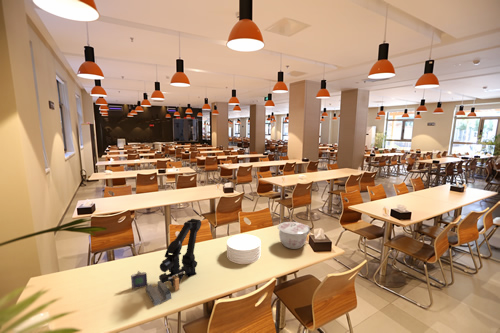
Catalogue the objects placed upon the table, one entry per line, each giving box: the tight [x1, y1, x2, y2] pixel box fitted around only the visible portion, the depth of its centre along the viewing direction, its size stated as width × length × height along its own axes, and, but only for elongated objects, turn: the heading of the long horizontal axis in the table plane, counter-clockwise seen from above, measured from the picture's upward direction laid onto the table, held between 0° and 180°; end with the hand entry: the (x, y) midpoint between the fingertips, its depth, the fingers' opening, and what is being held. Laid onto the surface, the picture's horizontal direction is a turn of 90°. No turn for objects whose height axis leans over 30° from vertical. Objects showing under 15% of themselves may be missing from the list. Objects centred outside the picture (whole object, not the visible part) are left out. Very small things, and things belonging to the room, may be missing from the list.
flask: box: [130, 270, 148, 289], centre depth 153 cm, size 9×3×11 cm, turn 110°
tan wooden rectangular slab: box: [172, 275, 180, 291], centre depth 152 cm, size 2×6×8 cm, turn 39°
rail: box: [145, 280, 172, 307], centre depth 146 cm, size 10×16×4 cm, turn 39°
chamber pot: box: [277, 221, 311, 250], centre depth 209 cm, size 28×28×21 cm
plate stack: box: [226, 233, 262, 265], centre depth 193 cm, size 28×28×12 cm
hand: (175, 285), depth 153 cm, fingers open, 4 cm apart
